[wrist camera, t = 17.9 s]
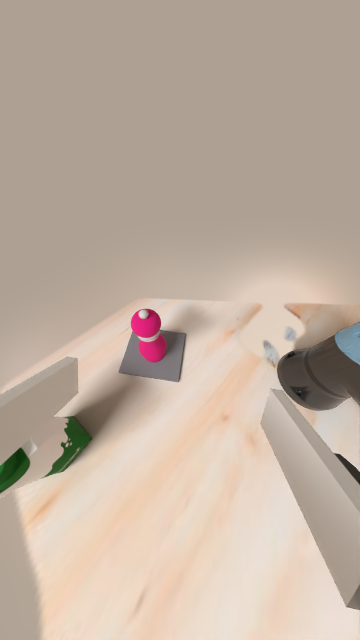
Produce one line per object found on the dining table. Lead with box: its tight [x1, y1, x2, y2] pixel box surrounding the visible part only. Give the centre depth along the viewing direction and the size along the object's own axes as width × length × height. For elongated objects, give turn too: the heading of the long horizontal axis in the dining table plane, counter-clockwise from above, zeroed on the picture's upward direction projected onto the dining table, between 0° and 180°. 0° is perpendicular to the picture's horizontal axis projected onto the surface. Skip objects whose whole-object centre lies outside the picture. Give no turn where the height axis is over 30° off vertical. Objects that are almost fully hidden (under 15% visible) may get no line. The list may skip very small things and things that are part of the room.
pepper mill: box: [131, 309, 167, 363], centre depth 39 cm, size 7×7×20 cm
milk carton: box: [0, 416, 92, 498], centre depth 28 cm, size 9×9×20 cm
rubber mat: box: [119, 331, 185, 382], centre depth 48 cm, size 16×14×1 cm
